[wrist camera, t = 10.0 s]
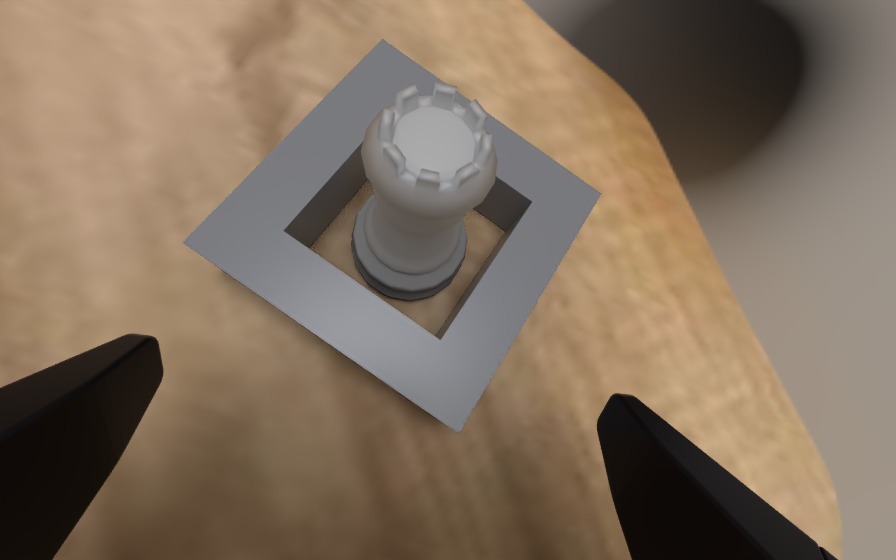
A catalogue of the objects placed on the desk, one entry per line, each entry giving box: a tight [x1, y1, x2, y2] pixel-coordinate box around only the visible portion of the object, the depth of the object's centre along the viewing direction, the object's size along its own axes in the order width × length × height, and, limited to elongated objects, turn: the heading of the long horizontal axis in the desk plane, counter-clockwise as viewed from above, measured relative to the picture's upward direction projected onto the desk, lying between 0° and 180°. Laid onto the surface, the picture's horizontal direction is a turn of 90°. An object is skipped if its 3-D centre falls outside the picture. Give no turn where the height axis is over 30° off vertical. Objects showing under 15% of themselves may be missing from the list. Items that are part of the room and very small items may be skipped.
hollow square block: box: [183, 39, 601, 434], centre depth 15 cm, size 10×10×3 cm
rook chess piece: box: [351, 81, 498, 300], centre depth 12 cm, size 4×4×8 cm
